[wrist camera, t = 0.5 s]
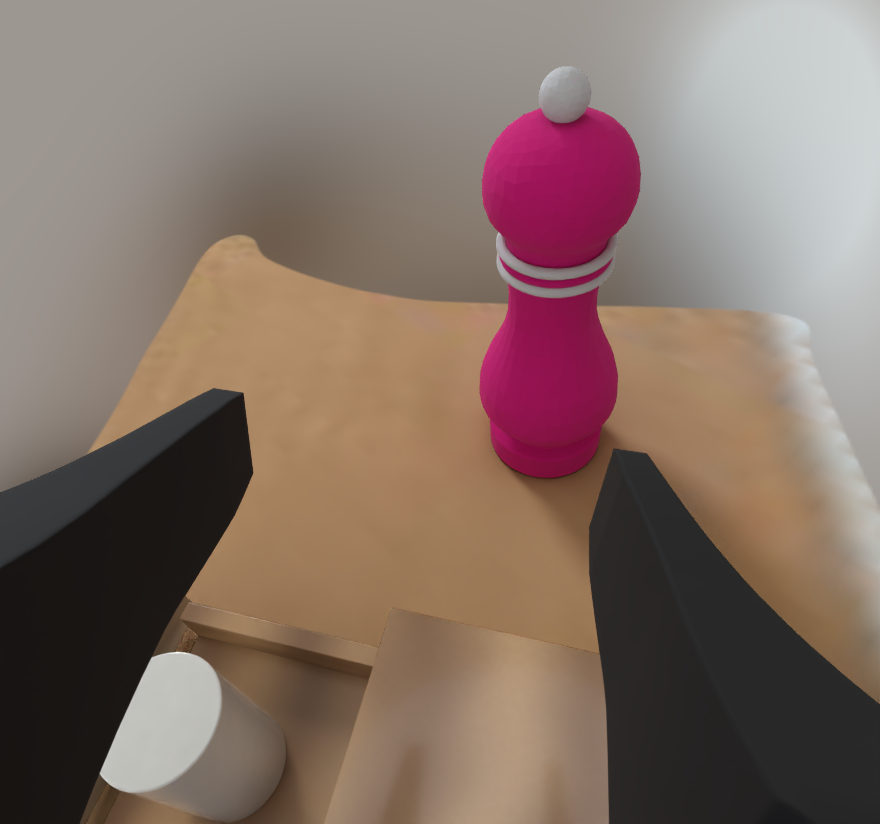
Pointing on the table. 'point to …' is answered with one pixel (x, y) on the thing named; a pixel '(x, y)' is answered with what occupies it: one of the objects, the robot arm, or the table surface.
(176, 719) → the spice jar
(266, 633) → the drawer
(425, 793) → the cabinet
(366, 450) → the table surface
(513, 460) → the pepper mill
